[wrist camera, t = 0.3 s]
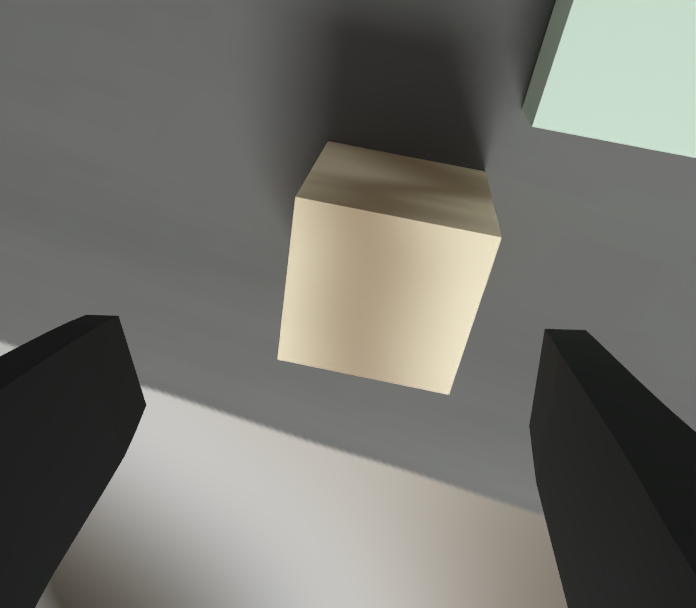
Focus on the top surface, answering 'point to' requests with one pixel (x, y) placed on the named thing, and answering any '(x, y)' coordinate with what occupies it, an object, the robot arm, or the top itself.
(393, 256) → the maple cube
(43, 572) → the robot arm
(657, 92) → the pale green slab
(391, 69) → the top surface
